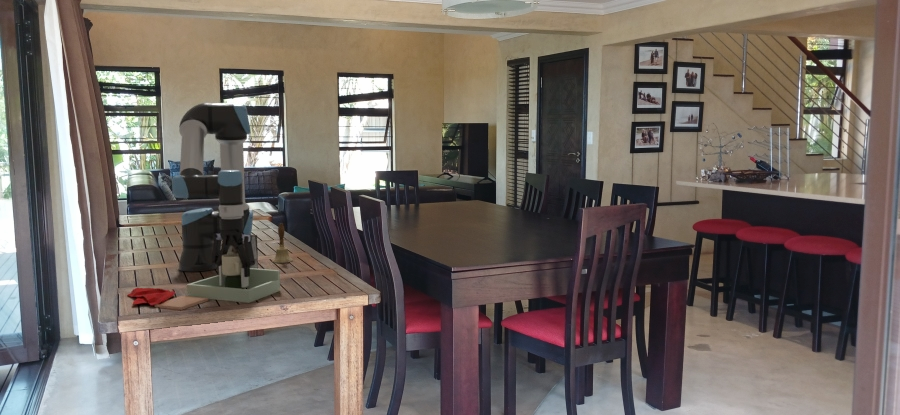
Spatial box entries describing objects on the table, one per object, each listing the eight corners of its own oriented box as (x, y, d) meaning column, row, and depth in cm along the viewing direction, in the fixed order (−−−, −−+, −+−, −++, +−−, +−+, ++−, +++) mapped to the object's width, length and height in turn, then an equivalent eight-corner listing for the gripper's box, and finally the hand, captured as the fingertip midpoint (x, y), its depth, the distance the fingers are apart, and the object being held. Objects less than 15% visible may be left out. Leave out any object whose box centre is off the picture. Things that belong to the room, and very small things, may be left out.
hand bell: (268, 262, 277) (266, 224, 275) (280, 258, 284) (279, 221, 282) (284, 263, 274) (283, 225, 272) (296, 260, 281) (295, 222, 279)
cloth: (180, 301, 209) (180, 294, 208) (131, 308, 202) (131, 300, 202) (170, 287, 231) (169, 280, 231) (125, 292, 224) (125, 285, 224)
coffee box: (259, 278, 246) (258, 234, 245) (248, 282, 240) (247, 237, 238) (238, 276, 249) (236, 233, 247) (227, 280, 243) (225, 236, 241)
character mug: (249, 295, 220) (248, 256, 219) (227, 298, 216) (226, 258, 215) (240, 289, 229) (239, 251, 228) (219, 291, 225) (217, 253, 224)
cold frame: (187, 296, 219) (186, 275, 218) (221, 285, 235) (220, 265, 234) (248, 302, 211) (248, 280, 210) (280, 290, 227) (279, 270, 226)
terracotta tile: (154, 307, 206) (154, 304, 206) (182, 297, 217) (182, 295, 217) (181, 309, 202) (181, 307, 202) (208, 300, 214) (208, 298, 214)
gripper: (197, 217, 220) (200, 285, 223) (251, 220, 213) (253, 290, 215) (213, 214, 227) (215, 280, 230) (265, 217, 220) (267, 285, 222)
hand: (234, 285), depth 222 cm, fingers closed on character mug, 8 cm apart
